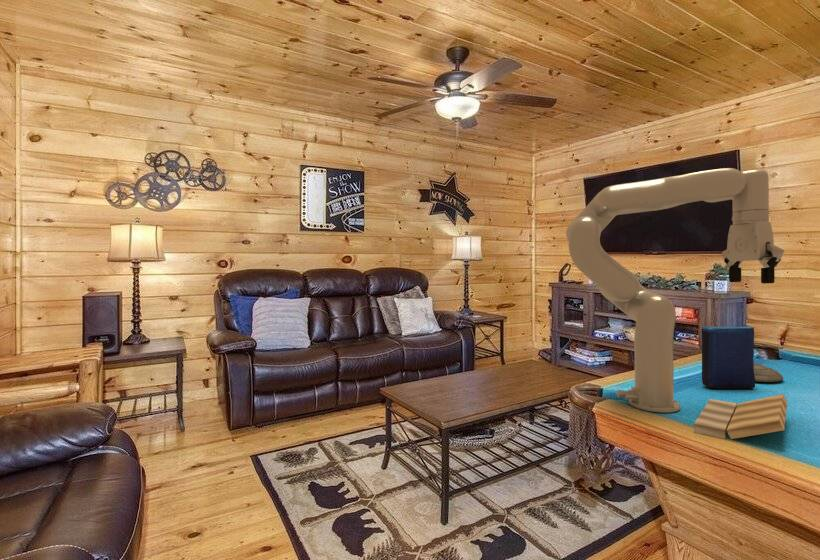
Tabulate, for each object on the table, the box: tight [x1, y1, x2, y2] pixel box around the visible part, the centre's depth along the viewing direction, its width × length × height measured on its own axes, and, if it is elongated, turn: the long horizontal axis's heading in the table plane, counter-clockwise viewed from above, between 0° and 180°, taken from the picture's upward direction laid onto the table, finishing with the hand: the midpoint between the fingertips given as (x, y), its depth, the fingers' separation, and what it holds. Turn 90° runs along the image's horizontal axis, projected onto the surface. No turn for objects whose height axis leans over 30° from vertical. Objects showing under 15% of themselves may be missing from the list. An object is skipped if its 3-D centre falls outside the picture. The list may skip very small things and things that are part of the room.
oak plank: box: [727, 393, 788, 440], centre depth 103 cm, size 24×10×2 cm, turn 137°
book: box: [701, 324, 756, 389], centre depth 135 cm, size 14×5×20 cm, turn 84°
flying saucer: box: [754, 362, 785, 383], centre depth 146 cm, size 15×15×6 cm
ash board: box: [693, 398, 738, 439], centre depth 109 cm, size 24×6×2 cm, turn 137°
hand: (750, 282), depth 115 cm, fingers open, 9 cm apart
